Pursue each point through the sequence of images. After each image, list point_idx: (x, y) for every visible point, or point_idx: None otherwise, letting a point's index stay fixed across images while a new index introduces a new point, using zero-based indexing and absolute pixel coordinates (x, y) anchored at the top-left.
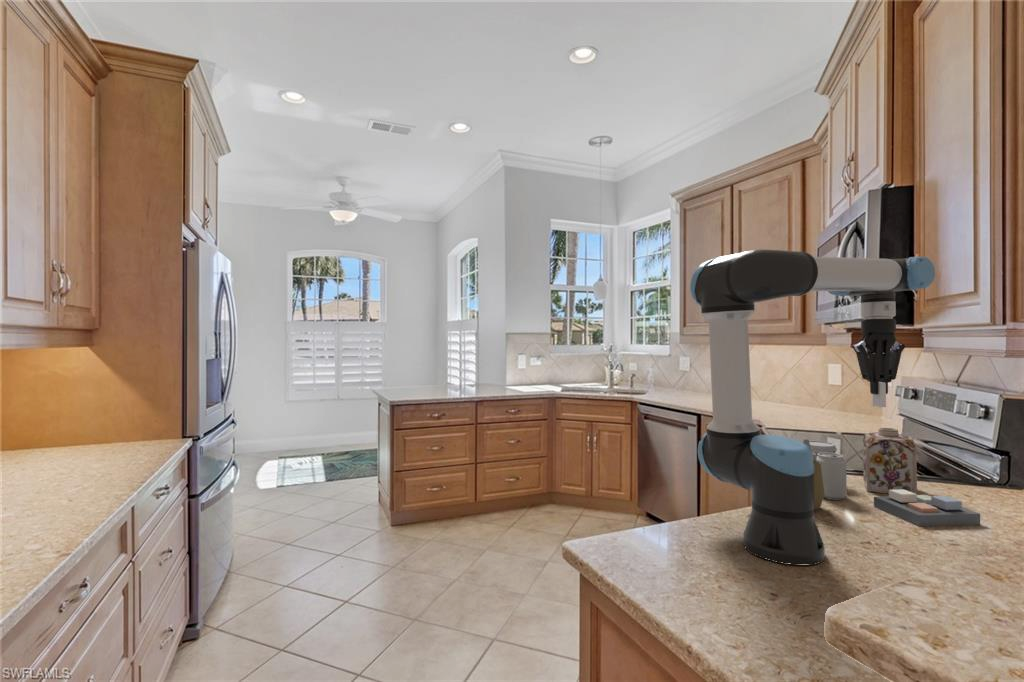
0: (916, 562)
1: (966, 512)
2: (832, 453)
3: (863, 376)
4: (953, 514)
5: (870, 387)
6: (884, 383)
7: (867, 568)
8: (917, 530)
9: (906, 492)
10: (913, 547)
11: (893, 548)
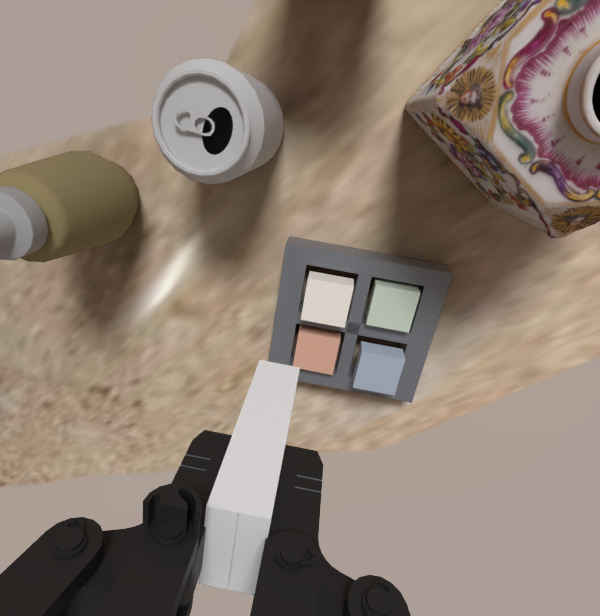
0: (124, 459)
1: None
2: (234, 97)
3: (37, 562)
4: (348, 390)
5: (177, 473)
6: (245, 584)
7: (37, 453)
8: (246, 375)
9: (331, 310)
10: (167, 424)
11: (129, 418)
